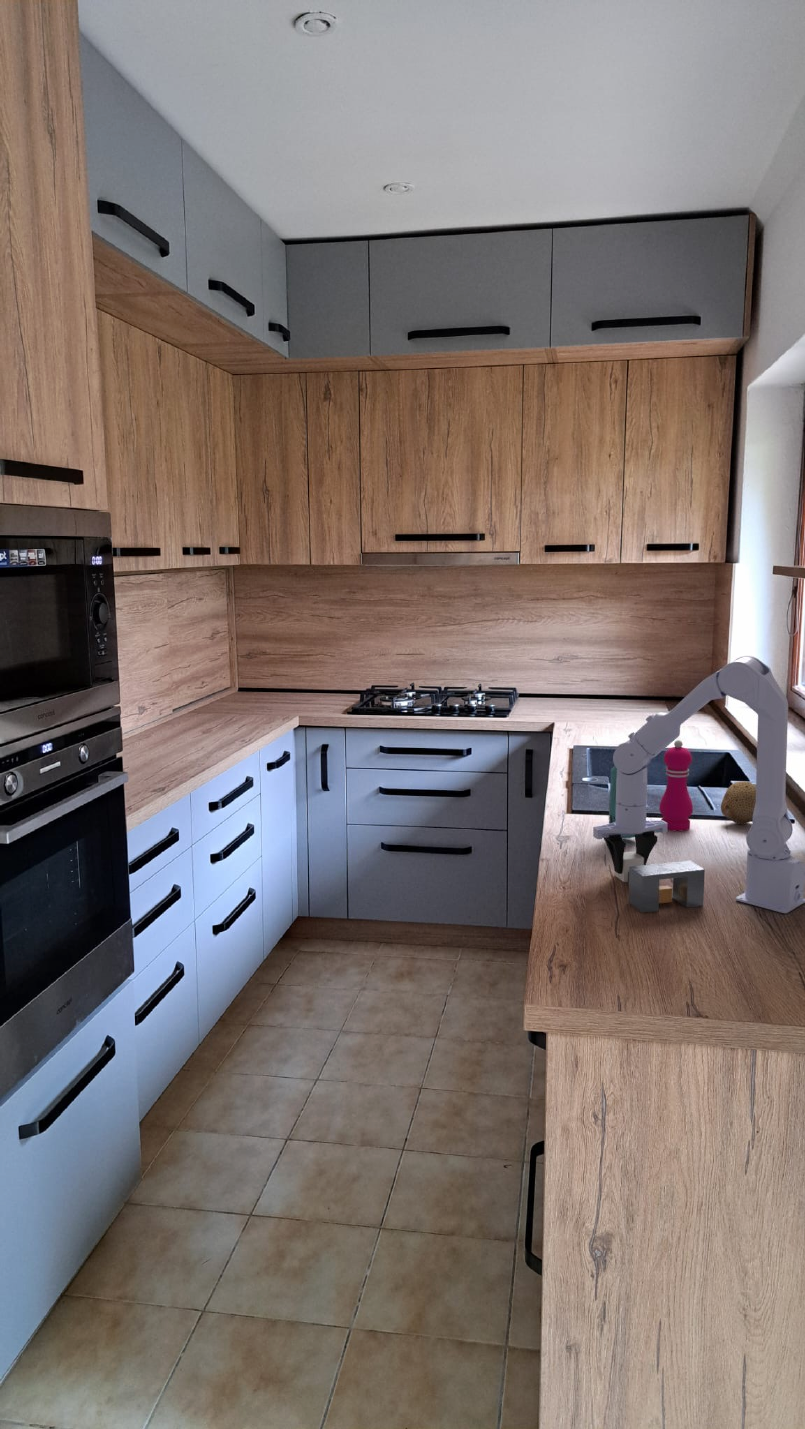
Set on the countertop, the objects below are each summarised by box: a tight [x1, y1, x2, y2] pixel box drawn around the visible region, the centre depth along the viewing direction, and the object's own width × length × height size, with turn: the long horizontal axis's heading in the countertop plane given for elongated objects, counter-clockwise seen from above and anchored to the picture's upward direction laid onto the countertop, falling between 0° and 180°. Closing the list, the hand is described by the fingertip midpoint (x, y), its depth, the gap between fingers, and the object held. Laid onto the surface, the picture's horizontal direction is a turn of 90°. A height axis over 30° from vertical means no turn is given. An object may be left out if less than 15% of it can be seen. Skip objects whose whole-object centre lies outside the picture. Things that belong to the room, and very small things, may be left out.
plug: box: [614, 851, 673, 904], centre depth 183 cm, size 16×4×4 cm, turn 14°
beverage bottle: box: [608, 765, 635, 839], centre depth 210 cm, size 6×7×20 cm
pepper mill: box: [659, 739, 694, 832], centre depth 219 cm, size 7×7×20 cm
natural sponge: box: [720, 780, 756, 825], centre depth 221 cm, size 9×9×10 cm
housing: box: [628, 859, 706, 914], centre depth 175 cm, size 5×12×7 cm, turn 104°
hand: (629, 870), depth 189 cm, fingers closed on plug, 4 cm apart
